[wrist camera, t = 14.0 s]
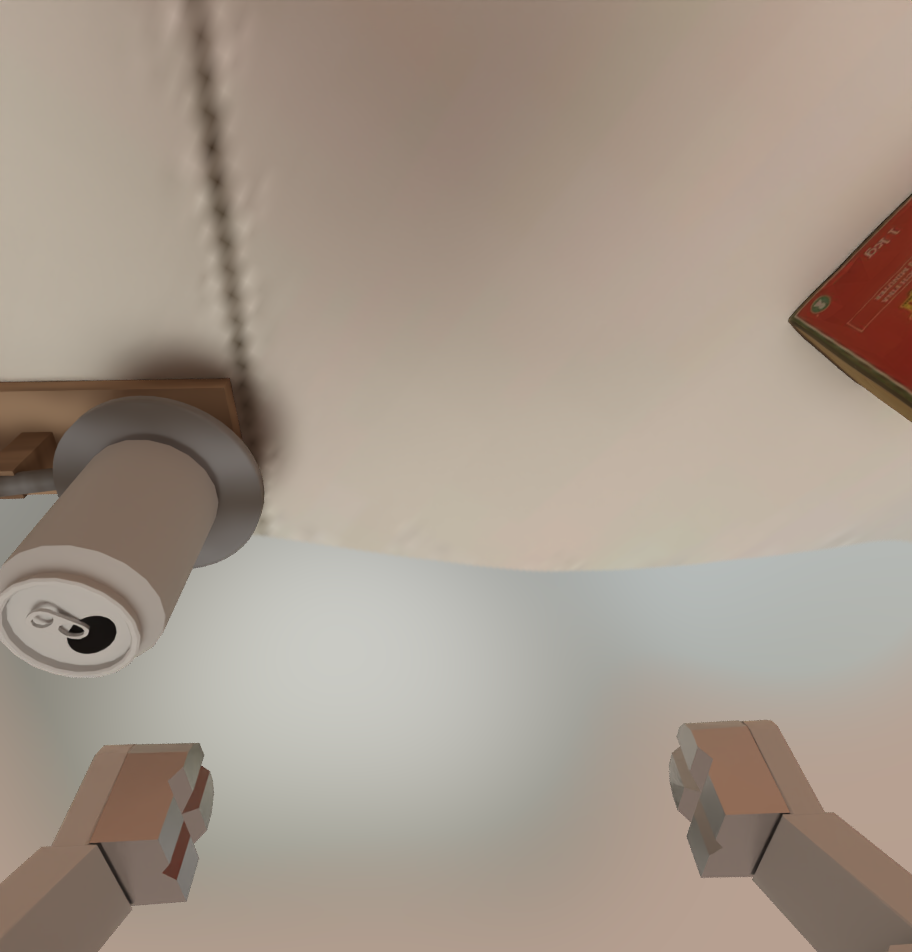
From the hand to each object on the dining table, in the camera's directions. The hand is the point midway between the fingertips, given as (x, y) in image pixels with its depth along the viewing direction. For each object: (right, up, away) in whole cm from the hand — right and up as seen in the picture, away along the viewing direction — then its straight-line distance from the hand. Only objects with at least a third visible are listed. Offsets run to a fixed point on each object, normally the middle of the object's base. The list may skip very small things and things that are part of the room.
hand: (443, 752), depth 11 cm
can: (-18, +4, +28) cm, 33 cm away
